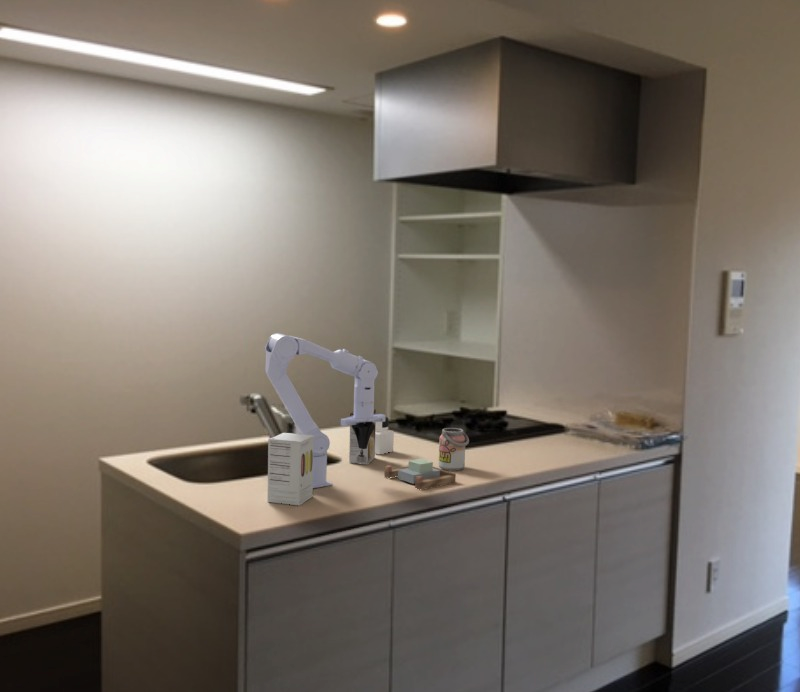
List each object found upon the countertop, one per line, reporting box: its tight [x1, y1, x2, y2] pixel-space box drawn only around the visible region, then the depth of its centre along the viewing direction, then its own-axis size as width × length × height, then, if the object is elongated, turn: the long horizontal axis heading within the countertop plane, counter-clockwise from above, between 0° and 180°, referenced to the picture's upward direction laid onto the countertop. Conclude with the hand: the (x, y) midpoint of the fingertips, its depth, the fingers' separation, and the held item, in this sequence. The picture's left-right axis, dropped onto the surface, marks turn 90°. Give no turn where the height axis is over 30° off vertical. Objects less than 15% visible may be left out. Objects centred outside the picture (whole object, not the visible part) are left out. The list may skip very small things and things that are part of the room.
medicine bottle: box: [375, 415, 395, 455], centre depth 267 cm, size 7×7×12 cm
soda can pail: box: [438, 427, 470, 472], centre depth 248 cm, size 9×8×12 cm
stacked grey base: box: [397, 458, 440, 485], centre depth 233 cm, size 10×7×6 cm
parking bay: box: [384, 465, 457, 491], centre depth 233 cm, size 14×16×4 cm
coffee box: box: [348, 409, 377, 465], centre depth 254 cm, size 9×6×16 cm
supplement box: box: [267, 432, 314, 507], centre depth 210 cm, size 10×9×17 cm
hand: (362, 448), depth 230 cm, fingers closed
